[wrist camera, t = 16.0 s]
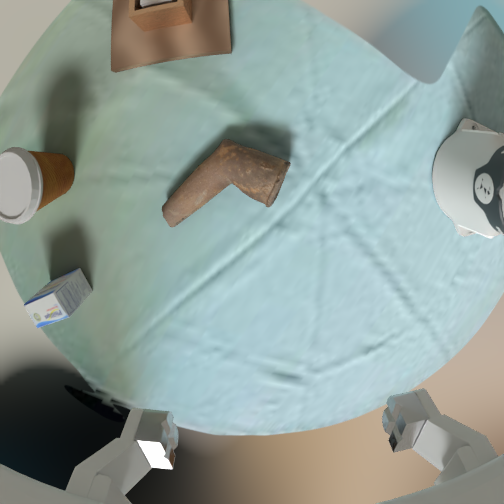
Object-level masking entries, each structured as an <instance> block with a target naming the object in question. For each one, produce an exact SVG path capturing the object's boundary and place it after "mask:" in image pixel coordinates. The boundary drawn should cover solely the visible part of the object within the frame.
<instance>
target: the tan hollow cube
mask: <svg viewBox="0 0 504 504" xmlns="http://www.w3.org/2000/svg"><path fill="white" fill-rule="evenodd" d="M129 18H130V19H131V20H132V21H133V22H134V23H135V24H136V25H137V26H138V27H139V28H140V29H141V30H143V31H144V32H146V31H151V30H156V29H161V28H166V27H171V26H177V25H183V24H190V23H192V0H177V2H173V3H167V4H162V5H157V6H153V7H148V8H143V7H142V6H141V5H140V0H129Z"/></svg>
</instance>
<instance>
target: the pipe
mask: <svg viewBox="0 0 504 504" xmlns="http://www.w3.org/2000/svg"><path fill="white" fill-rule="evenodd" d="M289 167H290V162H288V161H285V160H282V159H281V158H277V157H275V156H272V155H269V154H267V153H264V152H261V151H258V150H255V149H252V148H247V147H244V146H242V145H239V144H237V143H235V142H233V141H231V140H229V139H224V140H223V141H222V142H221V144H220V145H219V146H218V148H217V149H216V150H215V151H214V152H213V153H212V154H211V155H210V156H209V157H208V158H207V159H206V160H204V161H203V162H202V163H201V164H200V165H199V166H198V167H197V168H196V169H195V170H194V171H193V173H192V174H191V175H190V176H189V177H188V178H187V179H186V180H185V181H184V182H183V184H182V185H181V186H180V187H179V188H178V189H177V190H176V191H175V192H174V193H173V195H172V196H171V197H170V198H169V199H168V200H167V201H166V203H165V204H164V205H163V206H162V212H163V217H164V218H165V219H166V221H167V223H168V224H169V226H170V227H175V226H176V225H178V224H179V223H181V222H182V221H183V220H184V219H186V218H187V217H189V216H190V215H191V214H193V213H194V212H195V211H197V210H198V209H199V208H201V207H202V206H203V205H204V204H206V203H207V202H208V201H209V200H211V199H212V198H213V197H214V196H216V195H217V194H218V193H219V192H221V191H222V190H223V189H224V188H226V187H227V186H228V185H230V184H231V183H233V184H234V185H235V186H236V187H238V188H239V189H240V190H241V191H242V192H243V193H245V194H246V195H248V196H249V197H251V198H252V199H254V200H256V201H259V202H261V203H264V204H265V205H266V206H267V207H271V205H272V204H273V203H274V201H275V199H276V198H277V195H278V193H279V191H280V188H281V186H282V183H283V181H284V178H285V175H286V173H287V171H288V169H289Z"/></svg>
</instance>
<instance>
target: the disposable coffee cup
mask: <svg viewBox="0 0 504 504" xmlns="http://www.w3.org/2000/svg"><path fill="white" fill-rule="evenodd" d="M73 180H74V168H73V165H72V163H71V161H70V160H69V158H68V157H67V156H65V155H63V154H56V153H47V152H35V151H26V150H25V149H22V148H20V147H12V148H9V149H7V150H5V151H4V152H3V153H2V154H1V155H0V219H1V220H2V221H5V222H7V223H13V224H22V223H25V222H26V221H28V220H29V219H30V218H31V217H32V216H33V215H34V214H35V212H36V211H38V210H39V209H41V208H42V207H44V206H46V205H47V204H48V203H50V202H52V201H53V200H55V199H56V198H58V197H59V196H61V195H63V194H65V193H66V192H67V191H68V190H69V189H70V188H71V186H72V184H73Z"/></svg>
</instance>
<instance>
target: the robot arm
mask: <svg viewBox="0 0 504 504" xmlns="http://www.w3.org/2000/svg"><path fill="white" fill-rule="evenodd" d="M472 127H473V129H472ZM432 181H433V189H434V194H435V197H436V200H437V202H438V205H439V206H440V208H441V210H442V211H443V212H444V213H445V214H446V215H447V216H448V217H449V218H450V219H451V220H452V221H453V223H454V226H455V228H456V231H457V233H458V234H459V235H461V236H464V237H465V236H469V235H472V234H475V233H478V234H480V235H483V236H485V237H488V238H493V236H497V235H500V234H502V235H504V133H501V132H499V133H497V132H495V131H493V130H491V129H489V128H487V127H485V126H483V125H481V124H479V123H477V122H475V121H473V120H471V119H467V118H464V119H462V121H461V122H460V124H459V126H458V128H457V130H456V132H455V133H454V134H452V135H451V136H450V137H449V138H447V139H446V140H445V141H444V143H443V144H442V145H441V147H440V148H439V150H438V152H437V155H436V158H435V161H434V165H433V174H432ZM387 405H388V407H387V408H386V409H385V410H384V412H383V416H382V418H383V419H382V420H383V421H382V423H383V427H384V430H385V432H386V433H388V434H389V435H390V438H389V443H390V445H391V447H392V450H393V452H398V451H401V450H405V449H410V448H412V449H413V450H414V451H416V452H417V453H418V454H419V455H421V456H422V457H423V458H425V459H426V460H427V461H429V462H430V463H431V464H432V465H434V466H435V467H436V468H438V469H439V470H440V471H442V472H441V474H440V475H439V476H438V478H437V479H436V480H435V482H434V484H435V486H432V487H429V488H427V489H424V490H421V491H418V492H415V493H412V494H409V495H405V496H402V497H399V498H395V499H392V500H388V501H384V502H381V503H376V504H504V454H502V455H501V456H499V457H498V455H497V453H496V452H495V450H494V448H493V447H492V445H491V443H490V442H489V440H488V438H487V437H486V436H485V435H483V434H481V433H479V432H477V431H475V430H473V429H471V428H469V427H467V426H465V425H463V424H461V423H459V422H457V421H456V420H454V419H452V418H450V417H448V416H446V415H441V414H440V412H439V411H438V409H437V407H436V405H435V404H434V402H433V401H432V399H431V397H430V396H429V394H428V392H427V391H426V390H425V389H419V390H415V391H410V392H406V393H402V394H397V395H393V396H390V397H389V398H388V400H387ZM173 418H174V417H173V415H172V412H170V411H159V410H150V409H140V408H133V409H132V410H131V411H130V413H129V416H128V418H127V421H126V424H125V427H124V429H123V432H122V434H121V437H120V438H116V439H115V440H113V441H112V442H110V443H109V444H108V445H106V446H105V447H103V448H102V449H101V450H100V451H98V452H96V453H95V454H94V455H92V456H91V457H89V458H88V459H87V460H85V461H83V462H82V463H80V464H79V465H78V466H76V467H75V469H74V471H73V474H72V476H71V479H70V481H69V483H68V486H67V489H66V491H63V490H60V489H57V488H54V487H52V486H49V485H47V484H44V483H41V482H39V481H37V480H34V479H32V478H29V477H27V476H25V475H22V474H20V473H18V472H16V471H13V470H12V469H9V468H8V467H6V466H3V465H1V464H0V504H131V503H130V501H129V500H128V499H127V498H126V497H125V496H124V495H125V494H126V493H127V492H128V491H129V490H130V489H131V488H132V487H133V486H134V485H135V484H136V483H137V482H138V481H139V480H140V479H141V478H142V477H143V476H144V475H145V474H146V473H147V472H148V471H149V470H150V469H151V467H155V468H166V469H173V464H174V459H175V454H174V452H173V450H174V449H175V448H176V447H177V444H178V430H177V426H176V424H174V423H173Z"/></svg>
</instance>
